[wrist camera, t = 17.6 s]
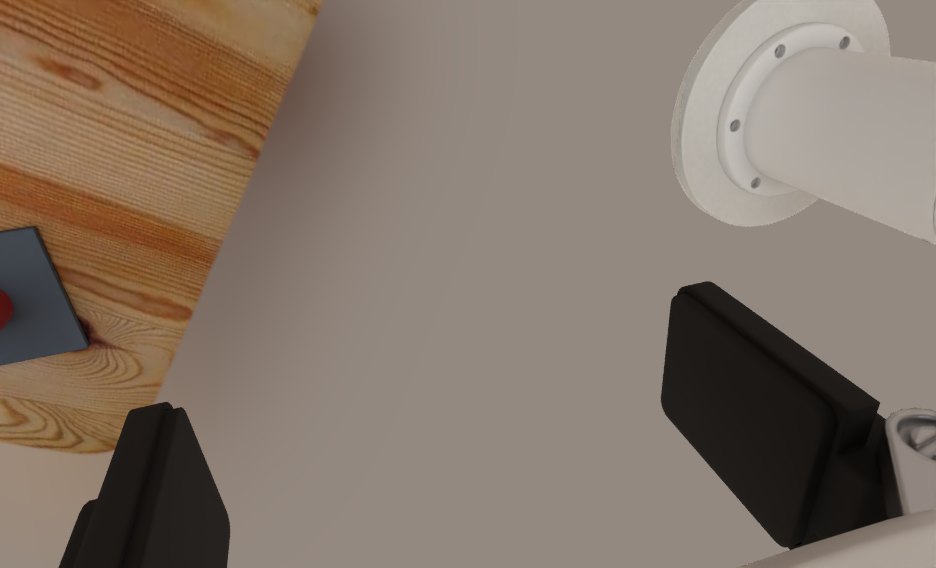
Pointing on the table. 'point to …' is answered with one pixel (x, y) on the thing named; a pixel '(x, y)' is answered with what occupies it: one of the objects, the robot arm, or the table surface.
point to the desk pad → (34, 301)
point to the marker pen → (5, 309)
